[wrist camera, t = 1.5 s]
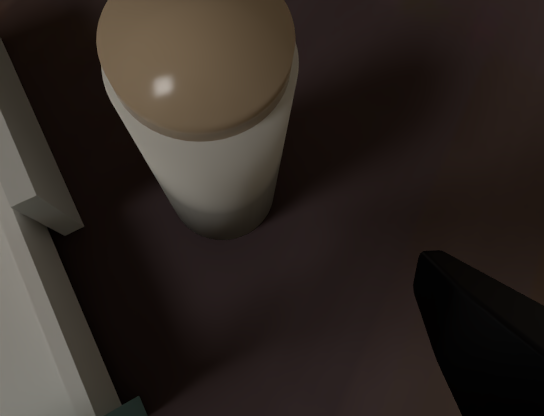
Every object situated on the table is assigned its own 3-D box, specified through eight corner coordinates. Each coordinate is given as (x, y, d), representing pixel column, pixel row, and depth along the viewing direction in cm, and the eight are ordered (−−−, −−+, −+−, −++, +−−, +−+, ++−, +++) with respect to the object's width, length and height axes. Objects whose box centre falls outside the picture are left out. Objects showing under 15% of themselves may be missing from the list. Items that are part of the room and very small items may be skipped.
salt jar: (294, 199, 22) (346, 54, 11) (212, 261, 21) (170, 174, 9) (232, 125, 23) (219, -81, 12) (151, 181, 22) (46, 13, 10)
